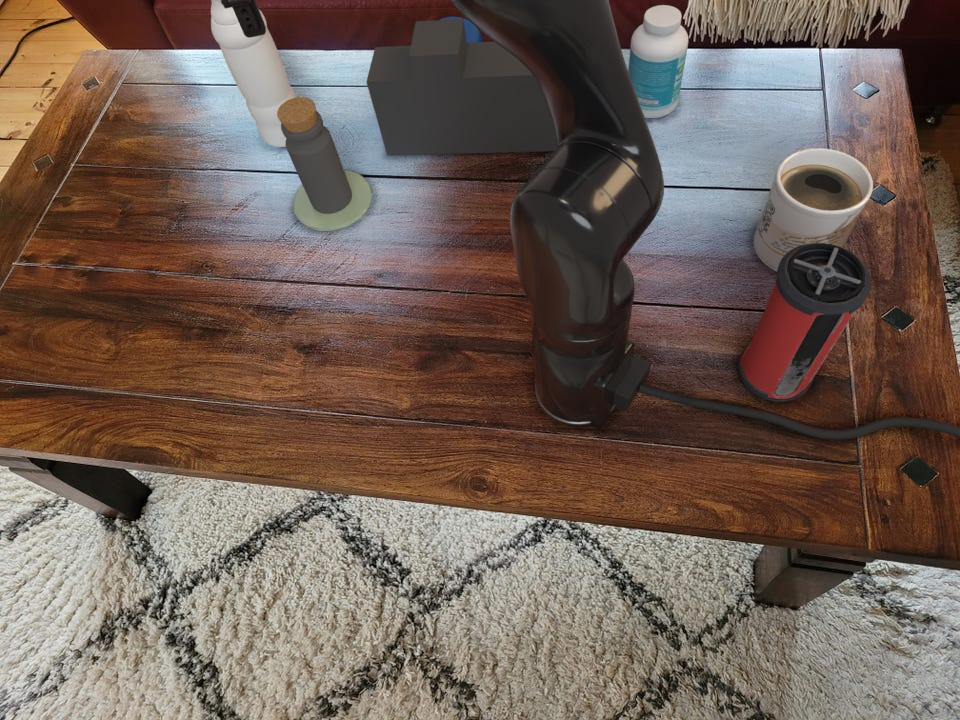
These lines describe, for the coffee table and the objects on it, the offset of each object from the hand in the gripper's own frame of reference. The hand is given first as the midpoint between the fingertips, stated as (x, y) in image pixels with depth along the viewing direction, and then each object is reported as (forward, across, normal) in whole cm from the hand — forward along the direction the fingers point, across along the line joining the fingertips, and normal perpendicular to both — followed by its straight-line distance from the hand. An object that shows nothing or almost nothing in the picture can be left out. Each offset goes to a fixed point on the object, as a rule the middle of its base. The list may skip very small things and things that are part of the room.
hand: (256, 10), depth 72 cm
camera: (+28, -12, +23) cm, 38 cm away
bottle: (+28, 0, 0) cm, 28 cm away
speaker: (+28, +40, +47) cm, 67 cm away
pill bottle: (+28, -6, +47) cm, 56 cm away
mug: (+28, +23, +57) cm, 67 cm away
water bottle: (+28, -16, -6) cm, 33 cm away
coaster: (+28, 0, 0) cm, 28 cm away
